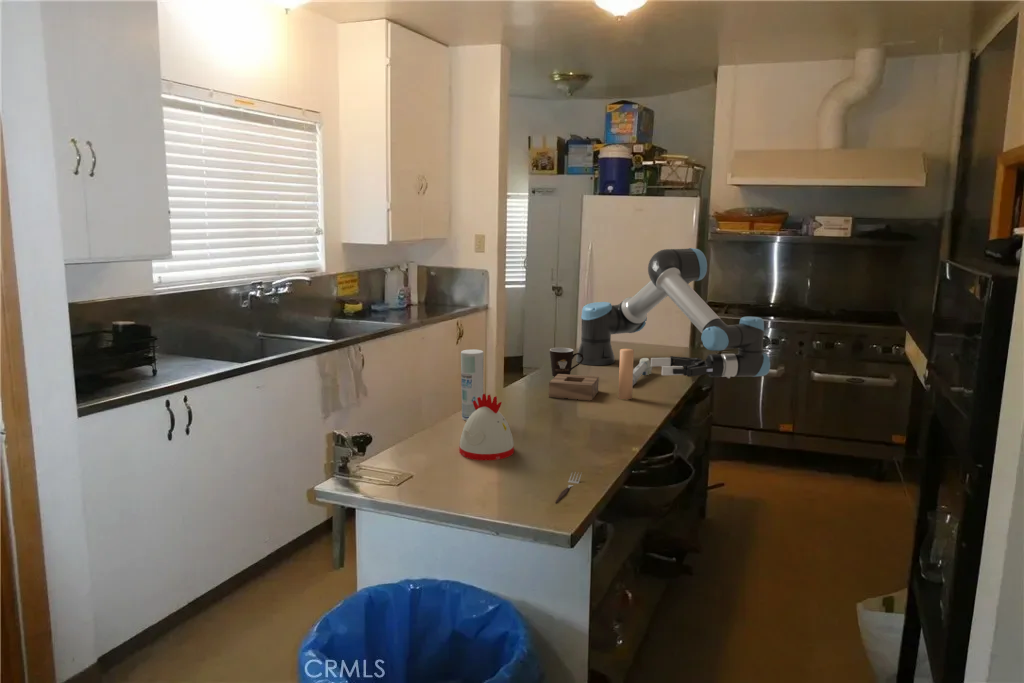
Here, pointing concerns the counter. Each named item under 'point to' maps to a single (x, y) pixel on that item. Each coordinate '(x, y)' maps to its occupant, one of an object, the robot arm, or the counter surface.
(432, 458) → the counter surface
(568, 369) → the coffee mug
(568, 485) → the fork
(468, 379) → the spray can
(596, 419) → the counter surface
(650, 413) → the counter surface
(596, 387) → the socket block
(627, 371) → the peg
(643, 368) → the toothbrush head
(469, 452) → the kitchen timer
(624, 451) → the counter surface
